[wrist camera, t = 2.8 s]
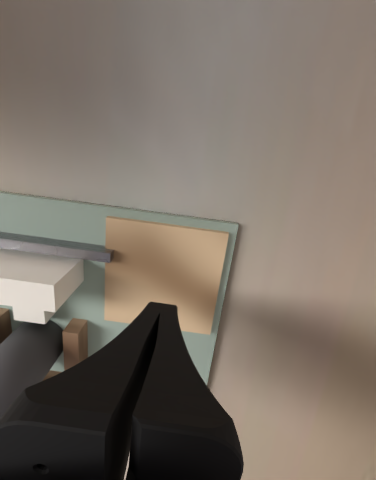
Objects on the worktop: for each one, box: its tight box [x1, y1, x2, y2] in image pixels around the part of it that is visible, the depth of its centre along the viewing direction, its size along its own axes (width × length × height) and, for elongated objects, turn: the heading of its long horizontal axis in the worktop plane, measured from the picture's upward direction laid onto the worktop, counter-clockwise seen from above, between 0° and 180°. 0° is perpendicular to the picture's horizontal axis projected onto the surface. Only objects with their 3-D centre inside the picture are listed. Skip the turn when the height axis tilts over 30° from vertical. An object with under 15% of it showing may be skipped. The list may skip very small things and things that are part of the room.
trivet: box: [104, 216, 229, 335], centre depth 16 cm, size 7×7×1 cm
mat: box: [0, 191, 238, 385], centre depth 18 cm, size 16×26×1 cm, turn 83°
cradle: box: [0, 308, 88, 381], centre depth 18 cm, size 6×6×1 cm
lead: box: [0, 319, 63, 418], centre depth 15 cm, size 3×3×7 cm
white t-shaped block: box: [0, 248, 84, 324], centre depth 15 cm, size 4×6×3 cm
